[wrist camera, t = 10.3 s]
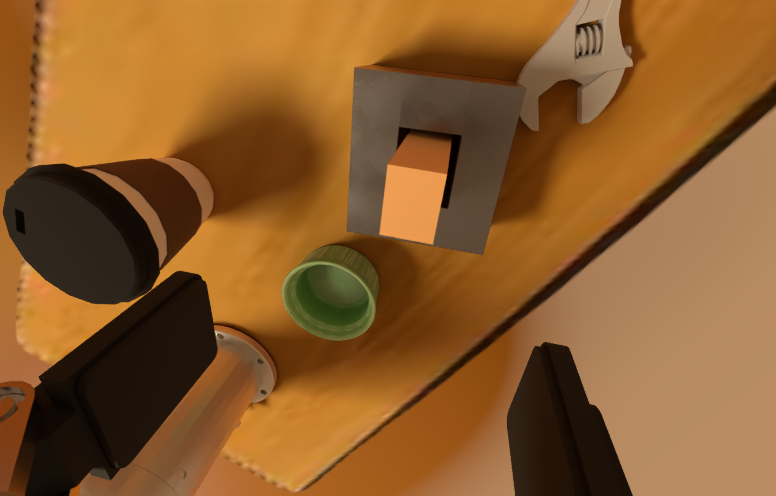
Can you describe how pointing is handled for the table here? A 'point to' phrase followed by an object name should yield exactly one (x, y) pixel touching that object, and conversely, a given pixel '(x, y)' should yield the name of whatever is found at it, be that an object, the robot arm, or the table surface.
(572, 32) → the adjustable wrench
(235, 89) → the table surface
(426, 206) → the orange square peg
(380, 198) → the grey square frame
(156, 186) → the coffee cup
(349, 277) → the ramekin
